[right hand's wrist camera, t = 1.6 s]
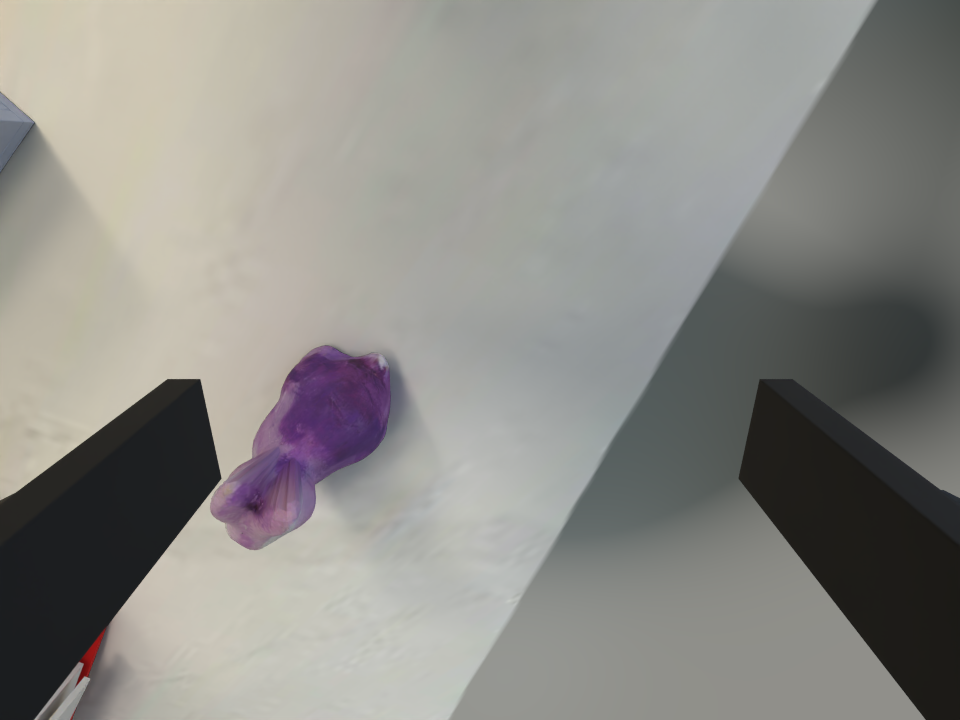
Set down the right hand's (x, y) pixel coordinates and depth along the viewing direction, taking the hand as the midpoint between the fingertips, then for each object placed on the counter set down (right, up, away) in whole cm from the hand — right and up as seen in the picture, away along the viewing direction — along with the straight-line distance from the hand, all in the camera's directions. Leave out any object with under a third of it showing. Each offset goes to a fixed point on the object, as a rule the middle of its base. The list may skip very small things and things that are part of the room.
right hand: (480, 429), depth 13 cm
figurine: (-11, -2, +29) cm, 31 cm away
